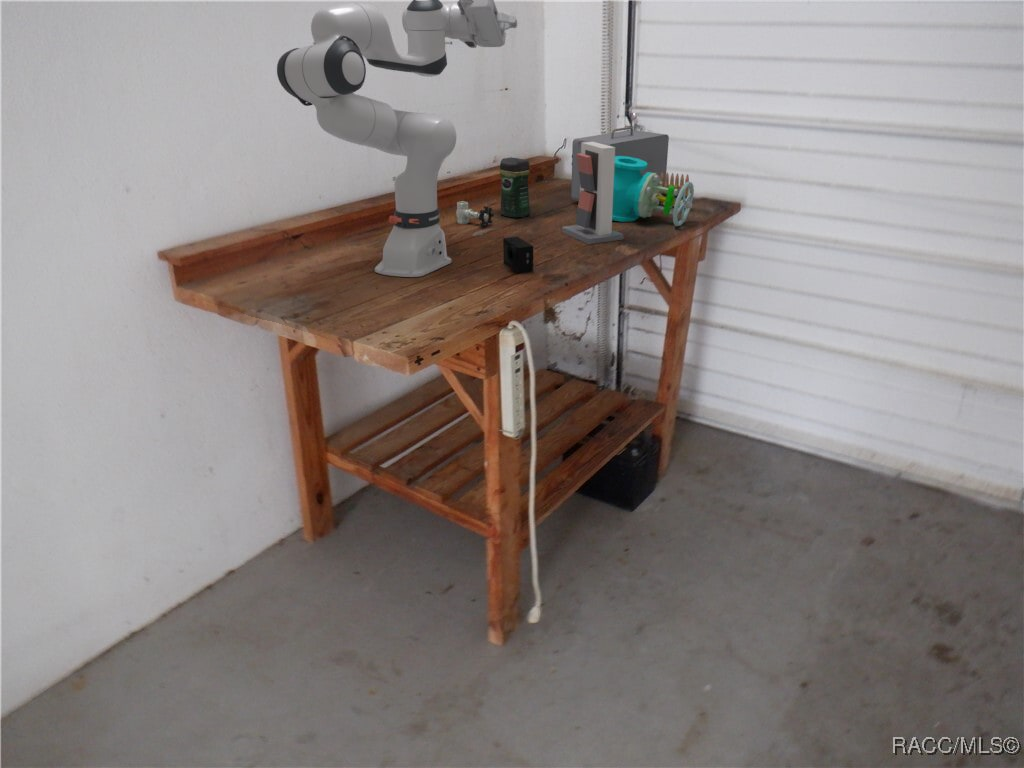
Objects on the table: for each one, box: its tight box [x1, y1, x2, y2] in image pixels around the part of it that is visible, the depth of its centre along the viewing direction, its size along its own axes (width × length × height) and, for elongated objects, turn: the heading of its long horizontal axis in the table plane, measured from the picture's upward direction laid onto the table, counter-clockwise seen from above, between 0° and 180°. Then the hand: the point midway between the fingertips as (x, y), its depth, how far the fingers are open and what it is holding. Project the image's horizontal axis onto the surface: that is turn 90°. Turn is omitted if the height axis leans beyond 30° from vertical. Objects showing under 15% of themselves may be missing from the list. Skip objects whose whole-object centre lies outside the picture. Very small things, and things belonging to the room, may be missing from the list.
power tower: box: [561, 142, 624, 245], centre depth 241 cm, size 12×16×27 cm
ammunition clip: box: [658, 171, 690, 212], centre depth 275 cm, size 11×2×12 cm, turn 60°
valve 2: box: [612, 156, 695, 227], centre depth 259 cm, size 14×18×30 cm
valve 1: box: [455, 200, 494, 228], centre depth 259 cm, size 7×7×12 cm
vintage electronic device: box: [570, 126, 670, 202], centre depth 285 cm, size 32×18×25 cm, turn 133°
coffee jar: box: [499, 156, 531, 219], centre depth 267 cm, size 10×8×19 cm
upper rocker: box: [577, 153, 595, 191], centre depth 237 cm, size 1×6×10 cm, turn 26°
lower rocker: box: [574, 190, 595, 228], centre depth 242 cm, size 1×6×10 cm, turn 27°
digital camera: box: [502, 236, 534, 274], centre depth 217 cm, size 10×5×7 cm, turn 23°
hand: (516, 21), depth 212 cm, fingers closed
